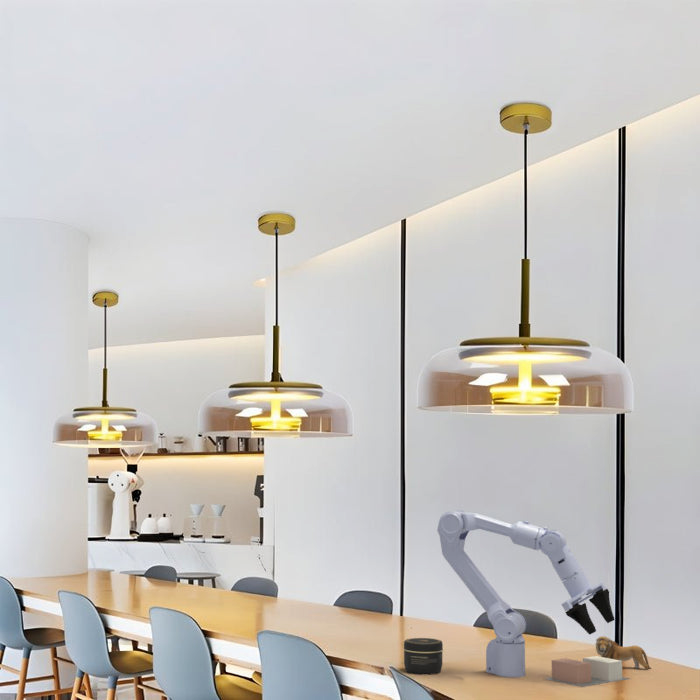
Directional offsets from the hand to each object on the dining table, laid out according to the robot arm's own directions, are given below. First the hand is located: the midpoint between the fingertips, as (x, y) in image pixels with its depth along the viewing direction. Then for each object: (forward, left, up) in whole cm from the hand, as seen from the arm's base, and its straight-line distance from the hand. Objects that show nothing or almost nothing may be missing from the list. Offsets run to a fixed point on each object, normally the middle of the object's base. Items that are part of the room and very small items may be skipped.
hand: (602, 627), depth 239 cm
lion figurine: (-9, +18, -14) cm, 25 cm away
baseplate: (-5, 0, -14) cm, 15 cm away
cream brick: (-4, +5, -13) cm, 14 cm away
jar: (-38, -24, -14) cm, 47 cm away
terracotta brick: (-6, -4, -13) cm, 15 cm away
